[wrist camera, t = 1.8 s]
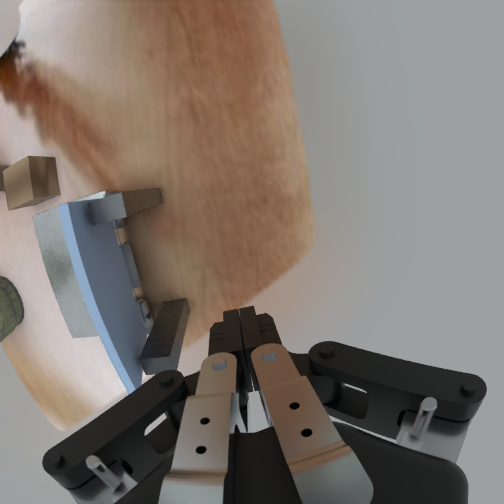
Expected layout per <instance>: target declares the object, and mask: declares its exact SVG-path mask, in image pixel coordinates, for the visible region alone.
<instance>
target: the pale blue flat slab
mask: <svg viewBox="0 0 504 504" xmlns="http://www.w3.org/2000/svg"><path fill="white" fill-rule="evenodd" d="M100 199H101V198H100ZM94 200H98V199H91V200H83V201H75V202H68V203H65V204H62V205H59V206H58V209H59V214H60V219H61V223H62V227H63V231H64V236H65V239H66V243H67V247H68V251H69V254H70V258H71V261H72V264H73V268H74V271H75V274H76V277H77V280H78V283H79V286H80V289H81V292H82V294H83V297H84V300H85V303H86V305H87V308H88V310H89V313H90V315H91V318H92V320H93V323H94V325H95V327H96V330H97V332H98V334H99V336H100V339H101V341H102V343H103V345H104V347H105V349H106V352H107V354H108V356H109V358H110V360H111V362H112V364H113V366H114V368H115V370H116V371H117V373H118V375H119V377H120V379H121V381H122V383H123V384H124V386H125V388H126V390H127V391H128V393H129V394H130V393H132V392H133V391H134V390H136V389H137V388H138V387H140V386H141V382H142V372H143V368H142V366H141V364H140V362H139V357H140V355H141V353H142V350H143V348H144V345H145V343H146V340H147V332H146V329H145V326H144V324H143V321H142V318H141V316H140V313H139V310H138V307H137V304H136V301H135V299H134V296H133V293H132V291H133V289H134V288H137V287H139V286H141V282H140V278H139V275H138V272H137V268H136V265H135V261H134V258H133V254H132V250H131V247H130V243H124V244H121V245H118V241H117V238H116V234H115V229H114V225H113V221H109V222H106V223H102V224H98V225H95V226H92V222H91V218H90V214H89V209H88V204H87V203H88V202H91V201H94Z"/></svg>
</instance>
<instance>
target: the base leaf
mask: <svg viewBox="0 0 504 504" xmlns="http://www.w3.org/2000/svg"><path fill="white" fill-rule="evenodd" d="M100 198H101V199H100ZM91 199H98V200H94V201H91V202H88V203H87V204H88V209H89V214H90V218H91V222H92V226H95V225H98V224H102V223H106V222H109V221H113V225H114V229H115V234H116V238H117V241H118V245H121V244H120V241H119V237H118V233H117V228H121V227H124V226H125V222H124V217H128V216H130V215H133V214H135V213H138V212H140V211H143V210H145V209H148V208H151V207H153V206H156V205H159V204H161V203H163V202H162V197H161V192H160V188H151V189H143V190H135V191H127V192H121V193H118V191H114V192H110V193H109V191H108V190H106V191H102V192H99V193H96V194H93V195H90V196H87V197H84V198H81V199H78V200H75V201H83V200H91ZM75 201H72V202H75ZM33 222H34V226H35V231H36V235H37V239H38V243H39V247H40V251H41V254H42V258H43V261H44V264H45V268H46V271H47V274H48V277H49V280H50V283H51V286H52V289H53V291H54V294H55V297H56V299H57V302H58V305H59V307H60V310H61V312H62V315H63V317H64V319H65V322H66V324H67V326H68V328H69V331H70V333H71V335H72V337H73V338H81V337H93V336H99V334H98V332H97V330H96V327H95V325H94V323H93V320H92V318H91V315H90V313H89V310H88V308H87V305H86V303H85V300H84V297H83V294H82V292H81V289H80V286H79V283H78V280H77V277H76V274H75V271H74V268H73V264H72V261H71V258H70V254H69V251H68V247H67V243H66V239H65V236H64V231H63V227H62V223H61V219H60V214H59V209H58V207H56V208H53V209H51V210H48V211H46V212H43V213H40V214H38V215H36V216H33ZM132 293H133V296H134V299H135V301H136V304H137V307H138V310H139V313H140V316H141V318H142V321H143V324H144V326H145V329H146V332H147V334H149V336H148V338H147V341H146V343H145V345H144V348H143V350H142V353H141V355H140V357H139V362H140V364H141V366H142V368H143V370H144V372H145V374H146V375H152V374H158V373H159V372H162V371H165V370H177V367H178V363H179V358H180V353H181V348H182V344H183V339H184V334H185V330H186V326H187V321H188V317H189V313H190V310H189V307H188V303H187V300H186V299H180V300H174V301H168V302H163V304H162V307H161V309H160V311H159V313H158V315H157V318H156V320H155V322H154V321H153V318H152V315H151V312H150V309H149V307H148V304H147V301H146V299H139V300H137V298H136V295H135V292H134V289H133V291H132Z"/></svg>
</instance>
